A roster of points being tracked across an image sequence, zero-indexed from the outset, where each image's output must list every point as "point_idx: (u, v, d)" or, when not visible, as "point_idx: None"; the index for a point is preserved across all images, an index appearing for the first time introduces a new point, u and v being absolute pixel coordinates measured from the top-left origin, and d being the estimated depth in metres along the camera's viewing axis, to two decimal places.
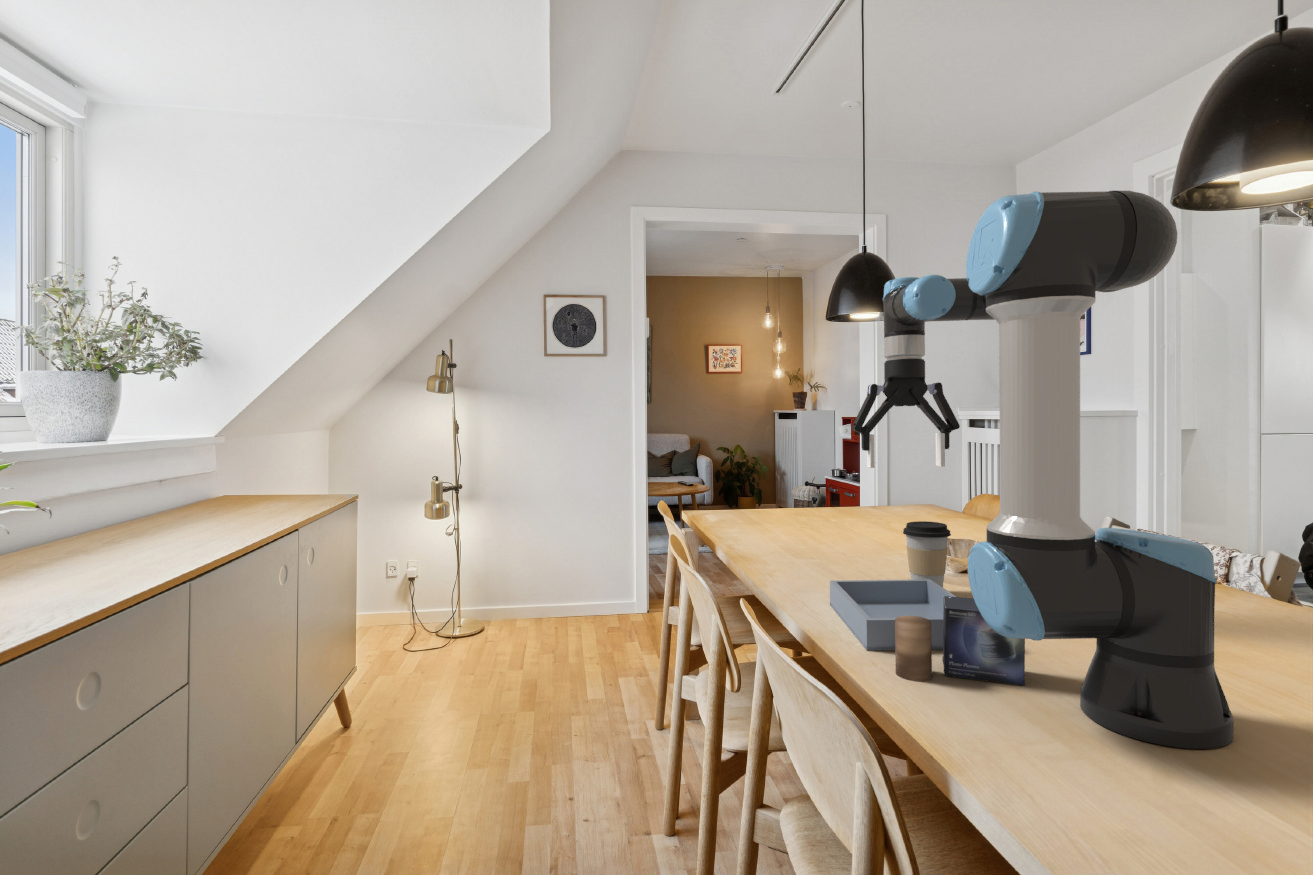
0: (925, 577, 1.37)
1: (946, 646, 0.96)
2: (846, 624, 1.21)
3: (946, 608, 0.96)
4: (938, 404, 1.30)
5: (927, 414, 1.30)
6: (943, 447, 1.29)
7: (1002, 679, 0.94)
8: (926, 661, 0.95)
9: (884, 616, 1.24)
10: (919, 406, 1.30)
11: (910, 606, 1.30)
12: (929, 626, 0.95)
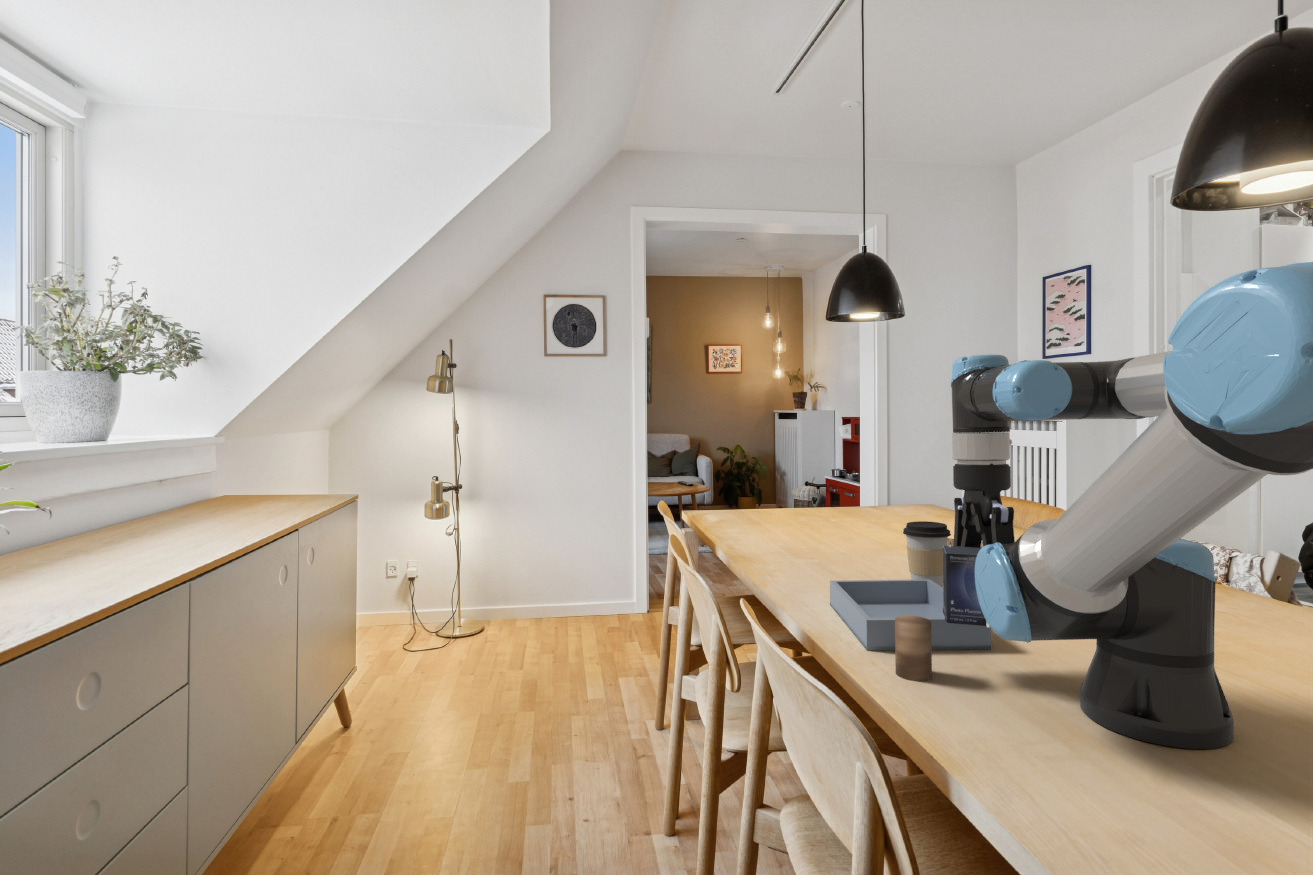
0: (925, 577, 1.37)
1: (947, 592, 0.95)
2: (846, 624, 1.21)
3: (947, 553, 0.95)
4: None
5: None
6: None
7: None
8: (925, 661, 0.95)
9: (884, 616, 1.24)
10: None
11: (910, 606, 1.30)
12: (929, 626, 0.95)
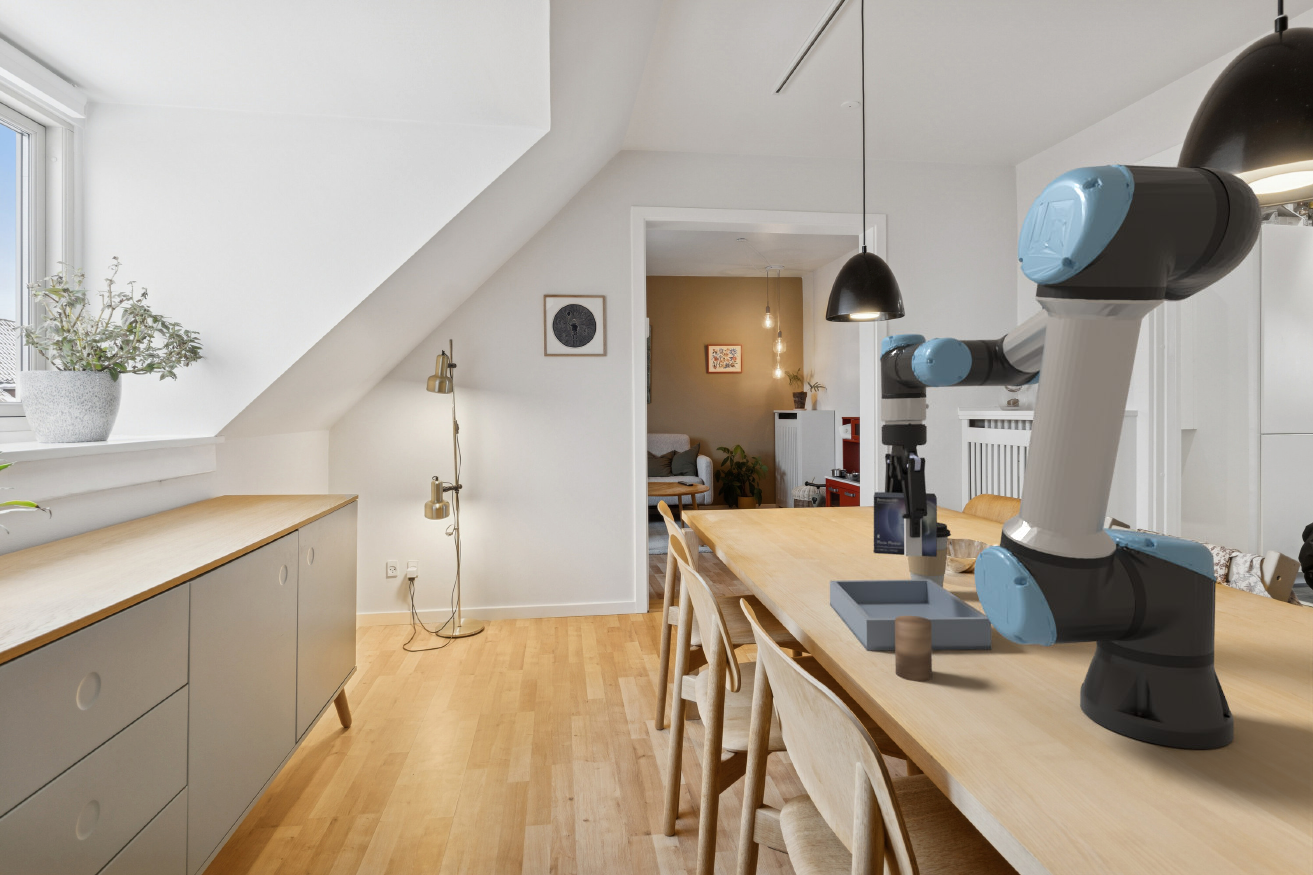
0: (925, 577, 1.37)
1: (874, 528, 1.17)
2: (846, 624, 1.21)
3: (874, 496, 1.17)
4: None
5: None
6: (905, 534, 1.14)
7: None
8: (925, 661, 0.95)
9: (884, 616, 1.24)
10: None
11: (910, 606, 1.30)
12: (929, 626, 0.95)
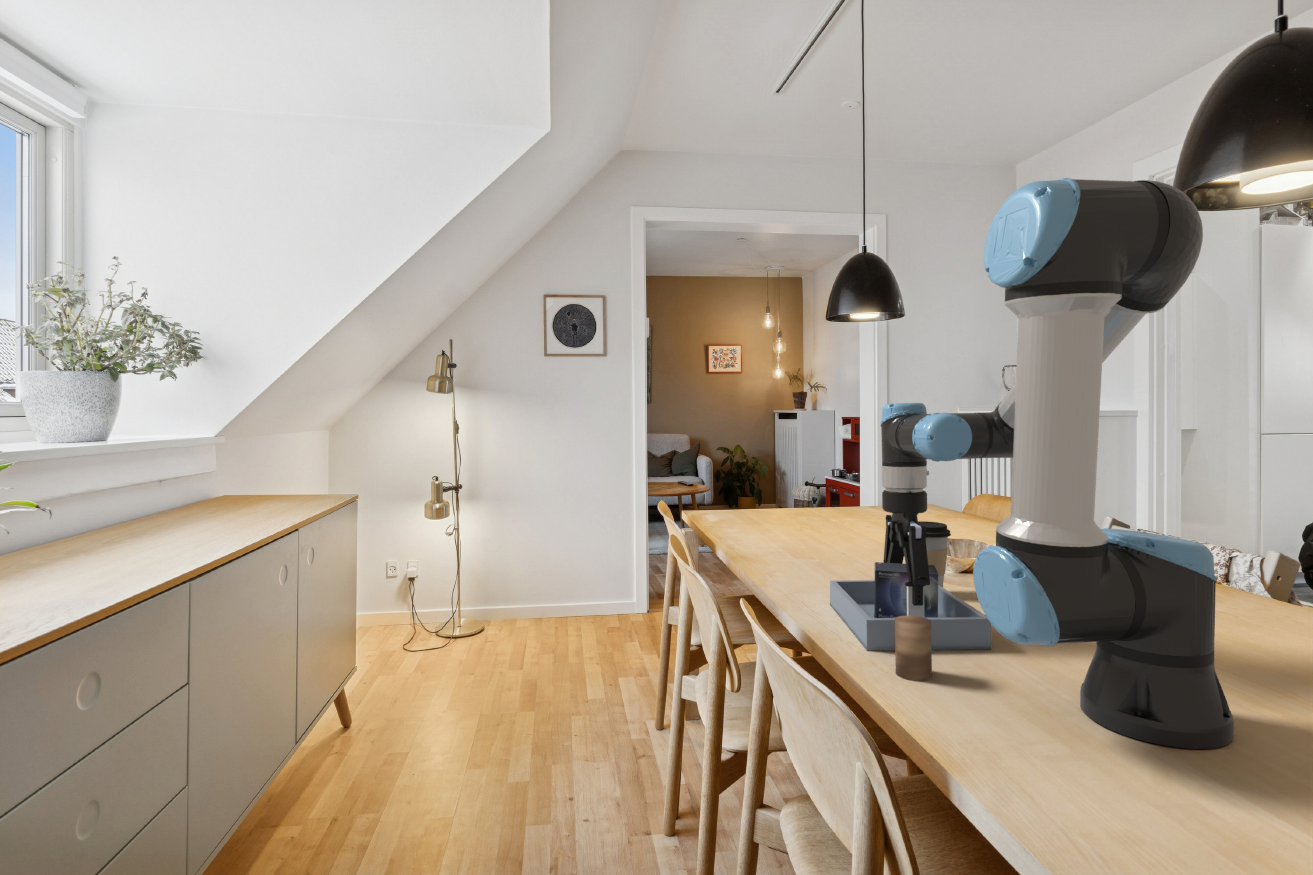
0: None
1: (876, 602, 1.17)
2: (846, 624, 1.21)
3: (876, 570, 1.17)
4: None
5: None
6: (907, 601, 1.13)
7: None
8: (925, 661, 0.95)
9: None
10: None
11: None
12: (929, 626, 0.96)
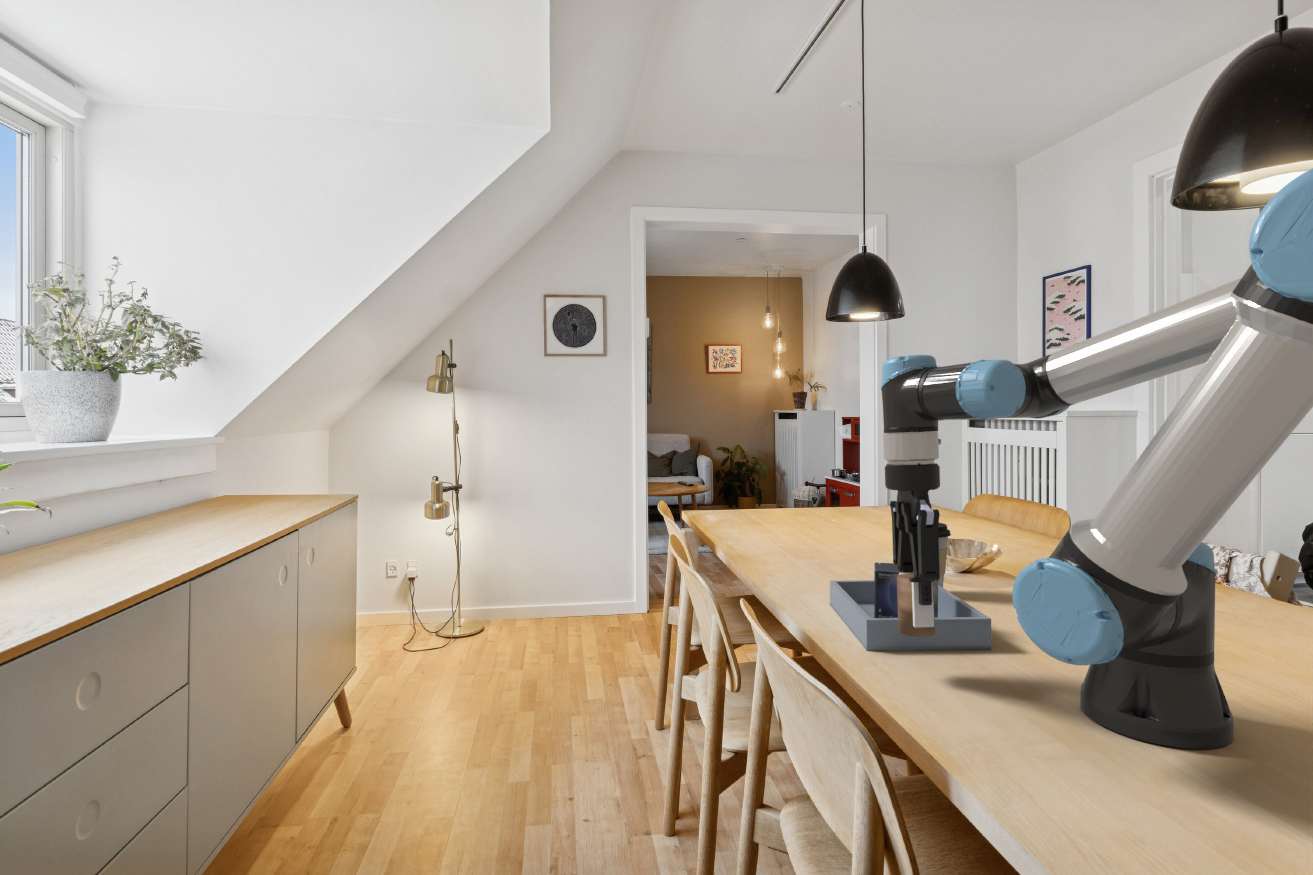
0: None
1: (876, 602, 1.17)
2: (846, 624, 1.21)
3: (876, 571, 1.17)
4: None
5: None
6: (913, 600, 0.94)
7: None
8: None
9: None
10: None
11: None
12: None
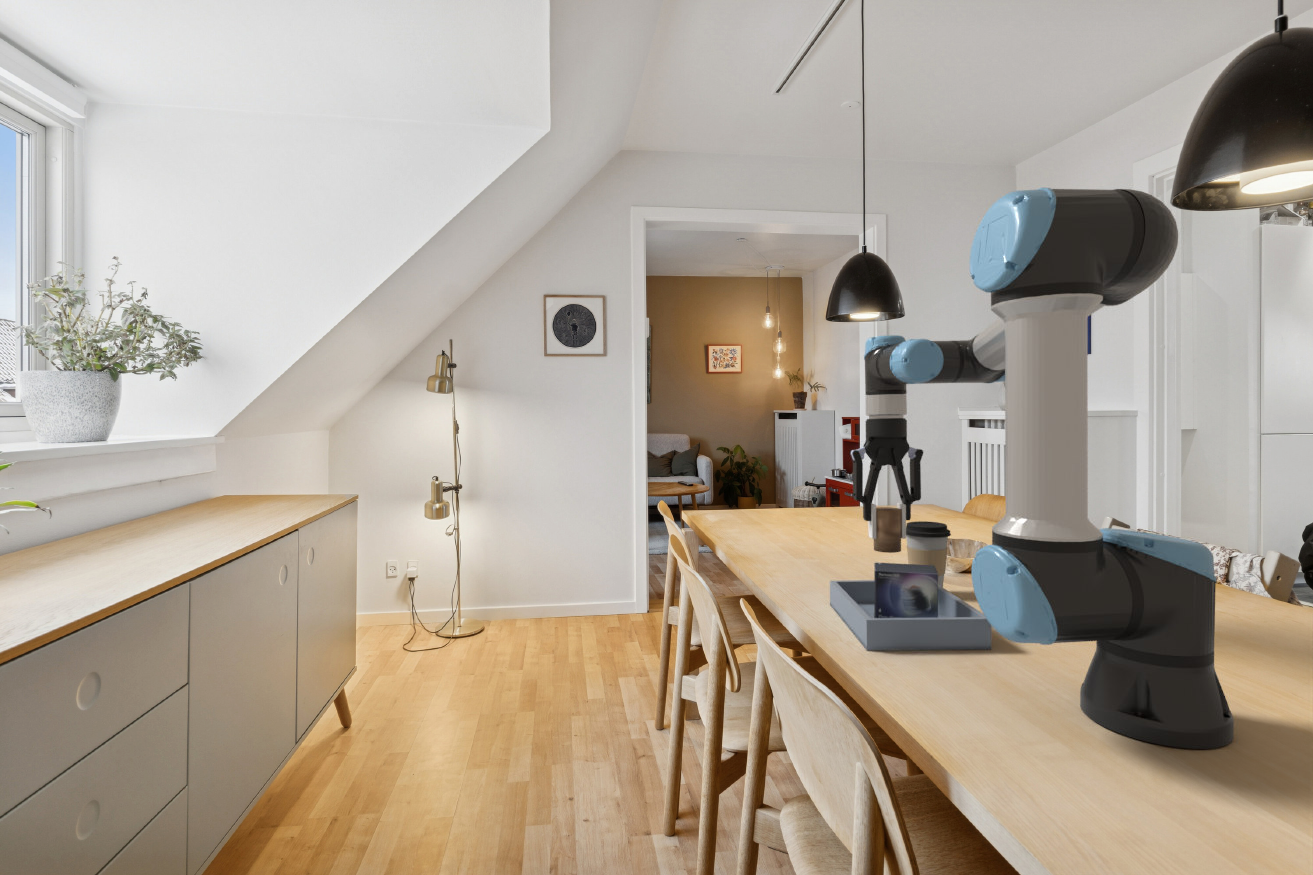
0: None
1: (876, 602, 1.17)
2: (846, 624, 1.21)
3: (876, 571, 1.17)
4: (911, 470, 1.28)
5: (897, 478, 1.27)
6: (904, 519, 1.26)
7: None
8: None
9: None
10: (893, 467, 1.28)
11: None
12: None
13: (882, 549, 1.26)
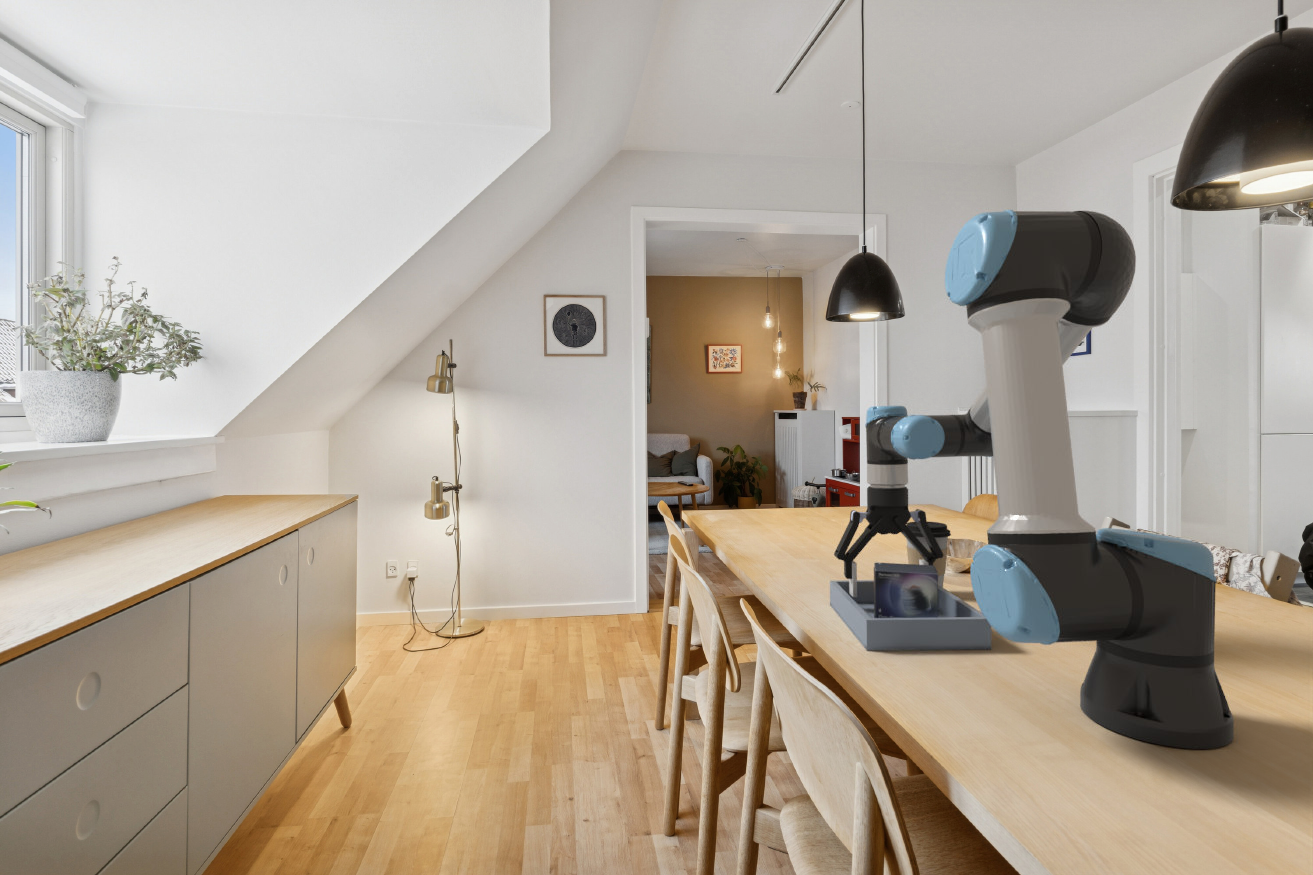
0: None
1: (876, 602, 1.17)
2: (846, 624, 1.21)
3: (876, 571, 1.17)
4: (922, 531, 1.28)
5: (911, 542, 1.27)
6: None
7: None
8: None
9: None
10: (902, 533, 1.28)
11: None
12: None
13: None
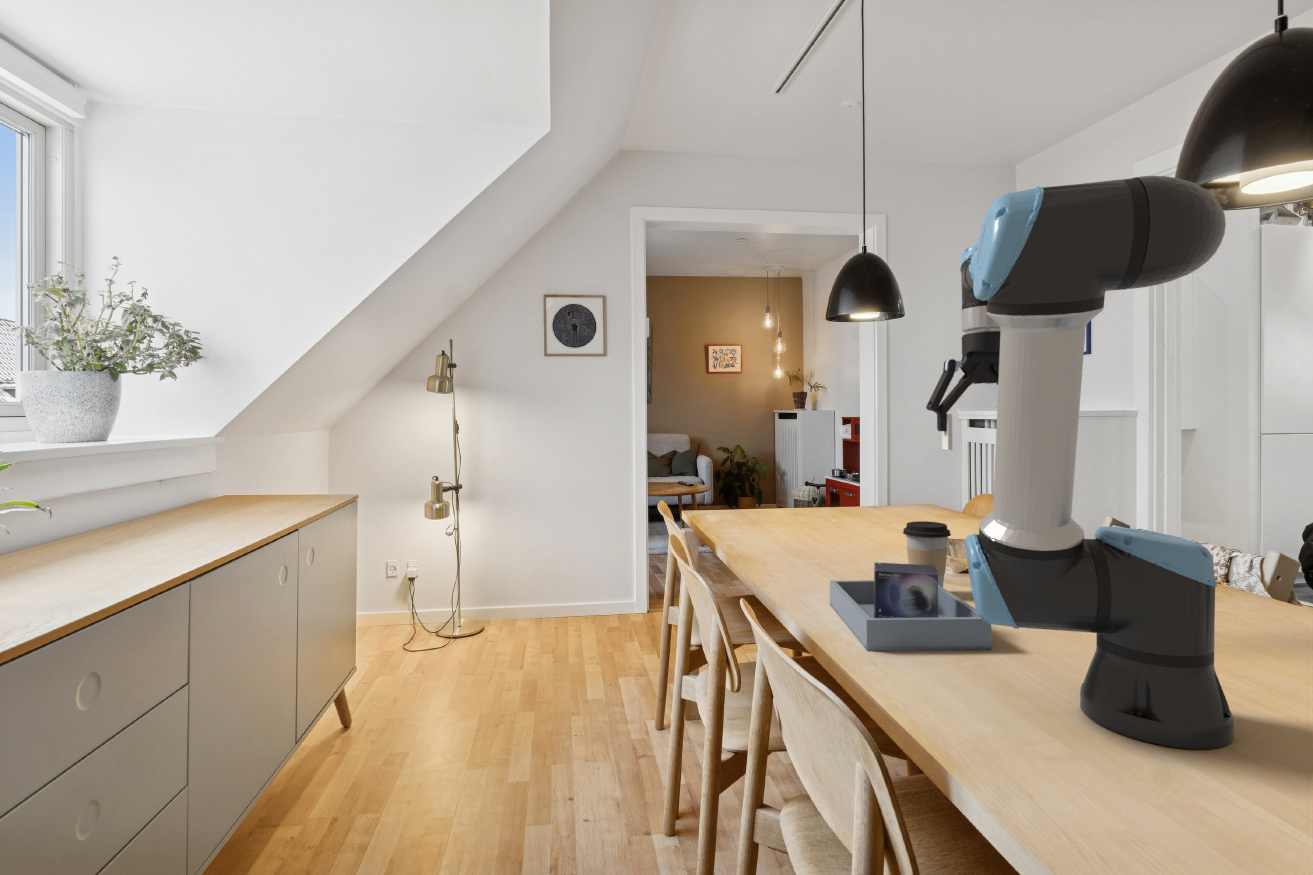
0: None
1: (876, 602, 1.17)
2: (846, 624, 1.21)
3: (876, 571, 1.17)
4: None
5: None
6: None
7: None
8: None
9: None
10: None
11: None
12: None
13: None
